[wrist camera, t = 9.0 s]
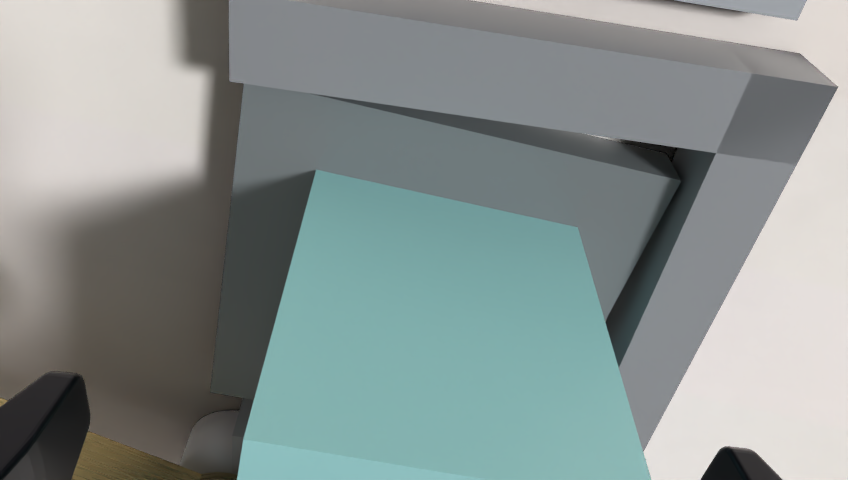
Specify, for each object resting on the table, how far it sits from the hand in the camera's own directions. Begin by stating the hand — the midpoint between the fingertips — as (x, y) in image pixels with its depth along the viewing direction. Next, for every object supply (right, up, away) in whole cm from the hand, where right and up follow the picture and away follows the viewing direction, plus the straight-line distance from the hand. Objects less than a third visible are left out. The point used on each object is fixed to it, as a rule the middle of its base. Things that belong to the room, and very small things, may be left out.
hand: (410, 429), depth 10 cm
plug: (0, +2, +3) cm, 4 cm away
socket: (0, +2, +3) cm, 4 cm away
